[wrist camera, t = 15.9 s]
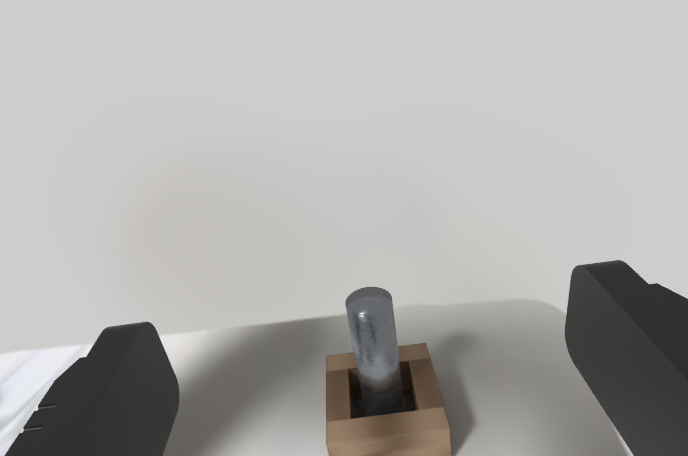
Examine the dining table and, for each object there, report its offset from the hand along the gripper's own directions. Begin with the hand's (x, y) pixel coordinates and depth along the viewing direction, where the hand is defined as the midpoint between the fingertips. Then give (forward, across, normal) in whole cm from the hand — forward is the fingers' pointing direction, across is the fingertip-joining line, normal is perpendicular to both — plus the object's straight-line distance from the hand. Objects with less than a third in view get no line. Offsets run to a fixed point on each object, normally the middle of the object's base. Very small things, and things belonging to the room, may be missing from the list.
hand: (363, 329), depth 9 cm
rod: (+19, 0, +26) cm, 32 cm away
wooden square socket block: (+19, 0, +26) cm, 32 cm away
